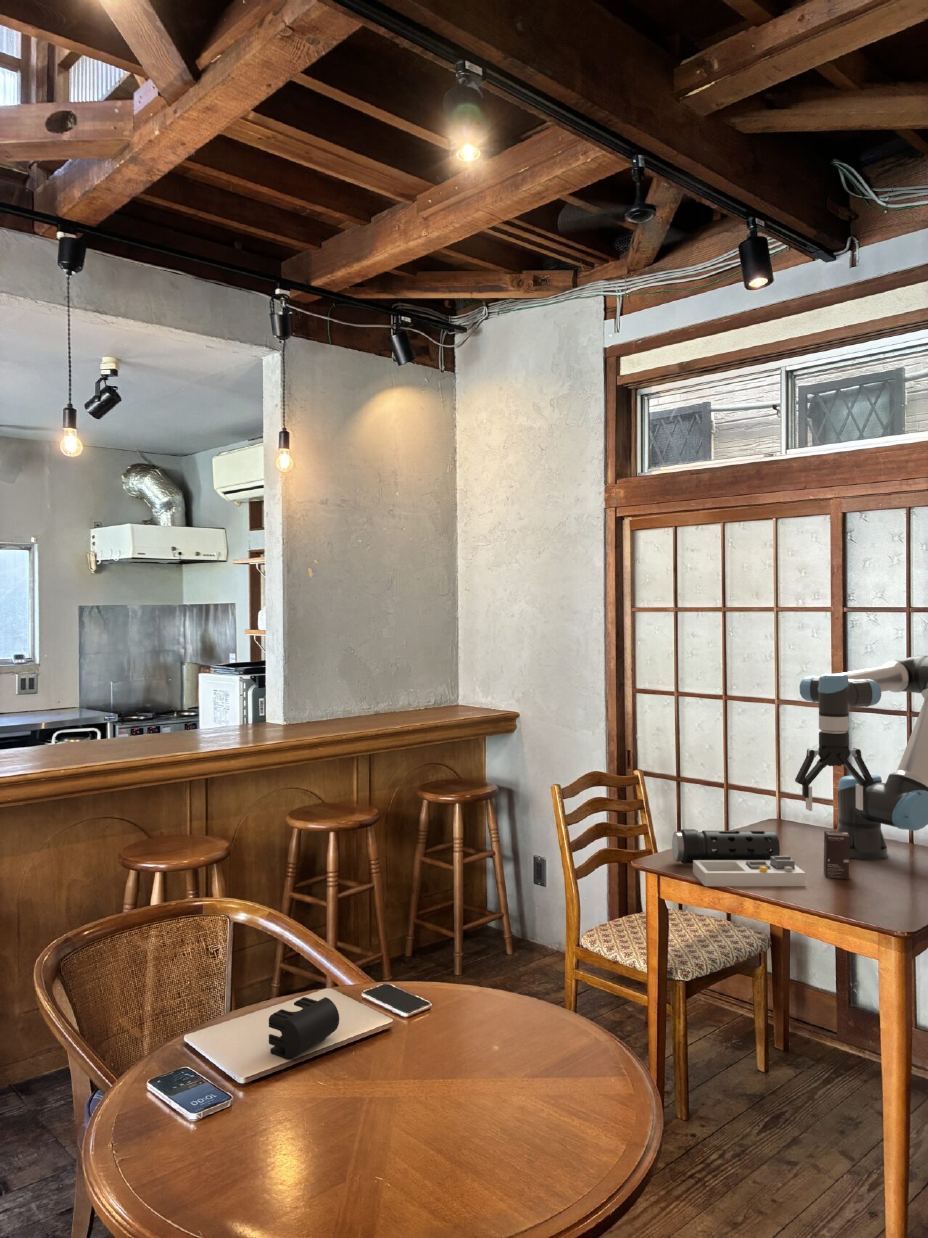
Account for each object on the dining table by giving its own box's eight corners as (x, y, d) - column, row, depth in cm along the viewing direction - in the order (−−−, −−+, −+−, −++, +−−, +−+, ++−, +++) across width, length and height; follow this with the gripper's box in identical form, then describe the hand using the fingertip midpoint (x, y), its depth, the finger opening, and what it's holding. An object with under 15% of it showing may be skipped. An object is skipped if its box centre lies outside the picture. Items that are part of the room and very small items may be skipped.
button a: (788, 869, 243) (788, 853, 243) (794, 874, 239) (794, 858, 239) (770, 869, 243) (770, 854, 243) (776, 874, 239) (776, 858, 239)
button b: (763, 874, 243) (763, 859, 243) (769, 879, 239) (769, 864, 239) (746, 874, 243) (746, 859, 243) (751, 879, 239) (751, 864, 239)
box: (826, 879, 242) (826, 834, 241) (823, 874, 246) (823, 830, 246) (850, 880, 240) (850, 835, 240) (846, 875, 245) (847, 831, 244)
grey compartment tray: (788, 872, 247) (788, 856, 247) (805, 886, 235) (805, 869, 235) (692, 872, 247) (693, 856, 247) (704, 886, 235) (704, 869, 235)
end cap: (299, 1066, 142) (299, 1024, 142) (266, 1054, 146) (266, 1013, 146) (340, 1040, 151) (340, 1000, 151) (308, 1030, 154) (308, 991, 154)
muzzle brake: (780, 872, 249) (780, 834, 248) (678, 871, 249) (678, 834, 249) (769, 862, 258) (769, 826, 258) (671, 861, 259) (671, 825, 259)
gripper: (873, 728, 246) (874, 805, 247) (782, 729, 246) (783, 806, 247) (886, 732, 239) (886, 812, 239) (792, 733, 239) (793, 813, 239)
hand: (834, 809), depth 243 cm, fingers open, 13 cm apart
